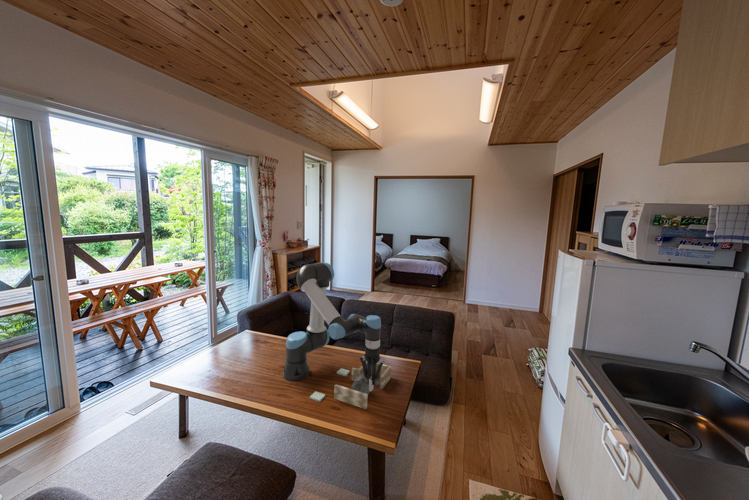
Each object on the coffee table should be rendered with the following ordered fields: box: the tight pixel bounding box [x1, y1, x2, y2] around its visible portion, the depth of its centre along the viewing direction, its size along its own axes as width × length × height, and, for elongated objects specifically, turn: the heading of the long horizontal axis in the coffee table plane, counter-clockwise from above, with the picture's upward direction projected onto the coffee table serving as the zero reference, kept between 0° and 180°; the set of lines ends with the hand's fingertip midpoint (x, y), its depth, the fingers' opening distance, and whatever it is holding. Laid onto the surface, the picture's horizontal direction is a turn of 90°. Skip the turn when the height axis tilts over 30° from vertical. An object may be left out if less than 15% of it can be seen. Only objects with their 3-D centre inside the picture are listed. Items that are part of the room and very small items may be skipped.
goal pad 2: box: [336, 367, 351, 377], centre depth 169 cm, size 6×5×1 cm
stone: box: [350, 375, 371, 396], centre depth 150 cm, size 10×10×10 cm
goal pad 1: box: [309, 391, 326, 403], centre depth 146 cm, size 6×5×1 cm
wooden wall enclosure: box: [333, 361, 392, 410], centre depth 156 cm, size 19×32×7 cm, turn 156°
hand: (371, 389), depth 148 cm, fingers closed
